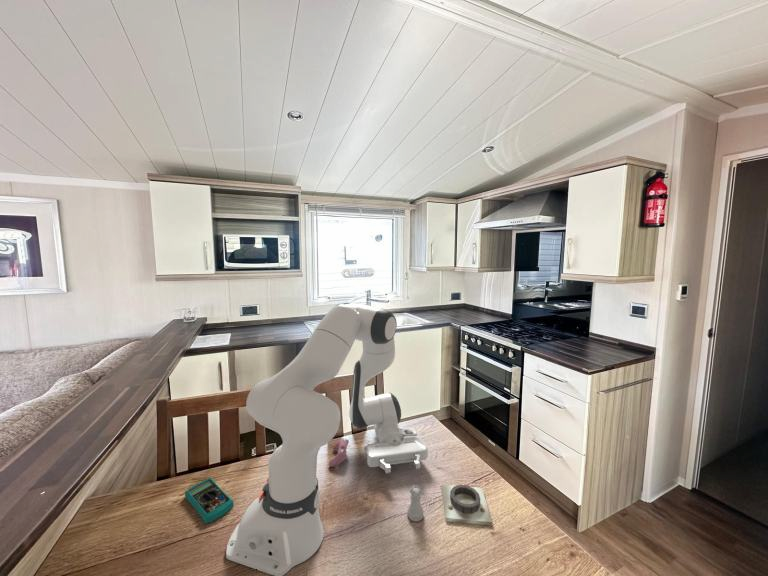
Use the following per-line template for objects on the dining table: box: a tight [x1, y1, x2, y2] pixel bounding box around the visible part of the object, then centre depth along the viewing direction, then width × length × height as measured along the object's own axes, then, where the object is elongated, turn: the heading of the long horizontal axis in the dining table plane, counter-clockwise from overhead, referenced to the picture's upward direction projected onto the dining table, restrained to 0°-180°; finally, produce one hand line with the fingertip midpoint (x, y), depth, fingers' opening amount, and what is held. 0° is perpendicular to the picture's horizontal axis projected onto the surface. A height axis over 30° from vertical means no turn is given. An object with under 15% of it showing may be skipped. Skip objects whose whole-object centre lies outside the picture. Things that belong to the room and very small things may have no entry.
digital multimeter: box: [184, 477, 234, 524], centre depth 88 cm, size 7×15×3 cm, turn 52°
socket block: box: [440, 484, 493, 526], centre depth 88 cm, size 12×12×3 cm
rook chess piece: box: [406, 484, 424, 523], centre depth 84 cm, size 4×4×8 cm
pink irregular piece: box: [328, 438, 349, 468], centre depth 107 cm, size 10×5×7 cm, turn 0°
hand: (403, 468), depth 95 cm, fingers open, 8 cm apart
